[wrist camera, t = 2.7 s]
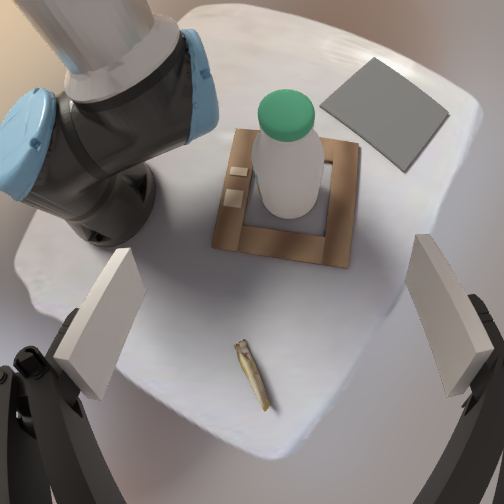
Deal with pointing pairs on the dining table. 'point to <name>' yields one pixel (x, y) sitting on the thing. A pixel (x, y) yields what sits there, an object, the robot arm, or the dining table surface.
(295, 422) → the dining table surface
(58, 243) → the dining table surface
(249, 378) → the snack bar
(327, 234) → the wooden frame
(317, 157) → the milk bottle
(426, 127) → the rubber mat
